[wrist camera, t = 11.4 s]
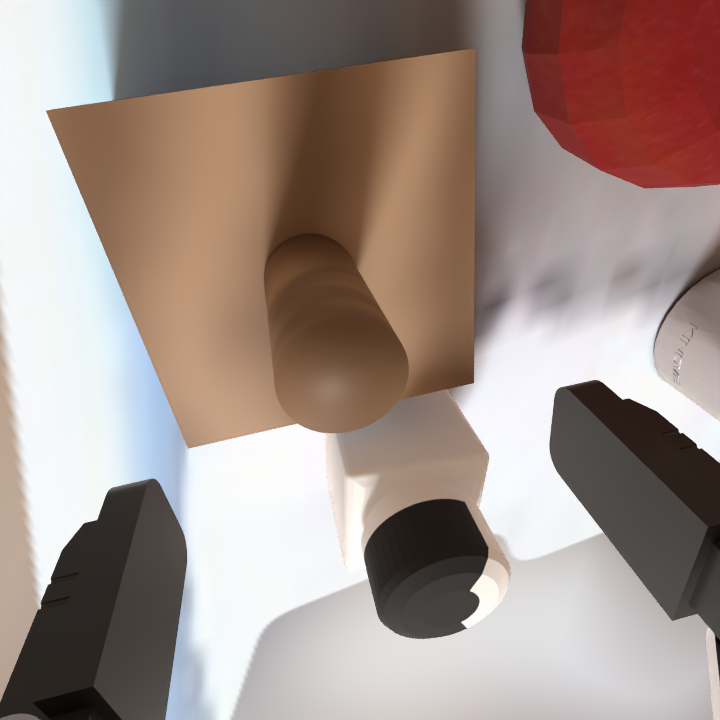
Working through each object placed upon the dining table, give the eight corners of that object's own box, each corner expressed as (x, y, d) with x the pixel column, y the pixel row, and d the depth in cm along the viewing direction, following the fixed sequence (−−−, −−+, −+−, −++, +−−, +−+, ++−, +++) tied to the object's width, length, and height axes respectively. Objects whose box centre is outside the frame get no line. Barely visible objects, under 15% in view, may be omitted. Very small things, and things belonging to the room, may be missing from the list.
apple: (732, 26, 22) (1126, -14, 12) (553, 207, 25) (758, 295, 15) (624, -239, 17) (1163, -681, 7) (412, 29, 19) (585, -16, 10)
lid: (466, 49, 16) (625, 31, 9) (466, 373, 23) (558, 495, 16) (55, 108, 14) (-103, 138, 8) (189, 436, 21) (166, 598, 15)
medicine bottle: (325, 478, 31) (365, 672, 21) (323, 388, 27) (370, 569, 17) (430, 464, 32) (514, 640, 22) (440, 375, 29) (547, 537, 19)
